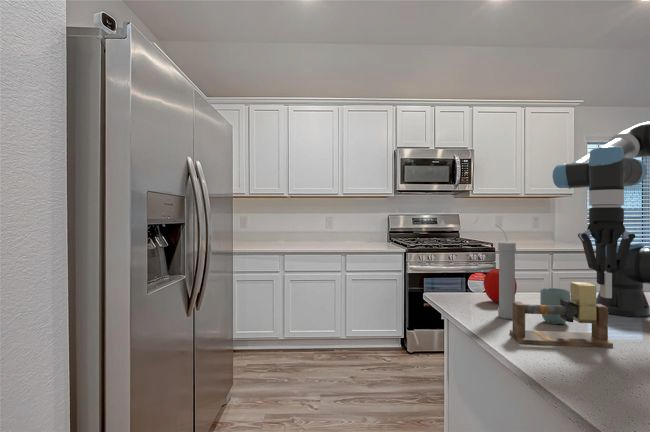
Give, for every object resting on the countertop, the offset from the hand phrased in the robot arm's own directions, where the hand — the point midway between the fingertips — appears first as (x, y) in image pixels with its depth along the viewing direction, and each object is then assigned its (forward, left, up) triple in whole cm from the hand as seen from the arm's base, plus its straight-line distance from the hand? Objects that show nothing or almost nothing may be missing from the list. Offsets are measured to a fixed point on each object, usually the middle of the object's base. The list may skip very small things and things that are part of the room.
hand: (605, 297), depth 106 cm
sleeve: (+5, 0, -6) cm, 8 cm away
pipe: (+18, -23, -12) cm, 32 cm away
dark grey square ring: (+9, 0, -6) cm, 11 cm away
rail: (+11, 0, -12) cm, 16 cm away
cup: (+5, -18, -12) cm, 22 cm away
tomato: (+14, -45, -12) cm, 49 cm away
